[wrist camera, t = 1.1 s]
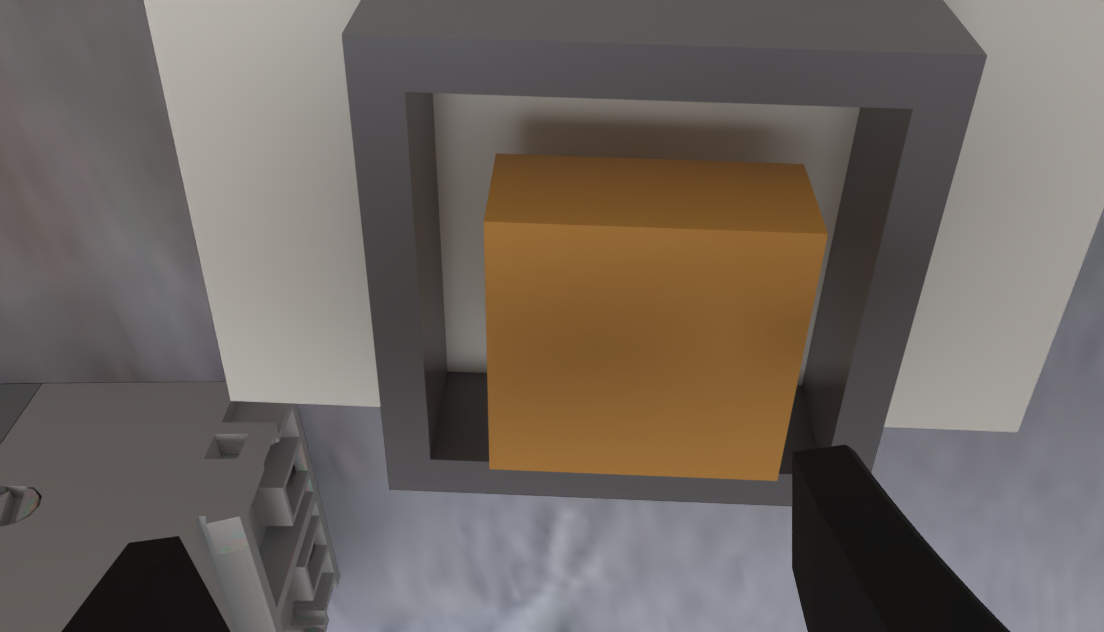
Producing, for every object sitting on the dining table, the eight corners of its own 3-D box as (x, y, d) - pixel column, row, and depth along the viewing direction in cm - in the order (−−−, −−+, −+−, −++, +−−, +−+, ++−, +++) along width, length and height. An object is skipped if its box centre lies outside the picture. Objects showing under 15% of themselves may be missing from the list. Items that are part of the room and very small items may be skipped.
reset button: (803, 164, 15) (828, 234, 14) (761, 399, 18) (776, 480, 16) (495, 153, 15) (483, 222, 14) (499, 388, 18) (489, 469, 16)
